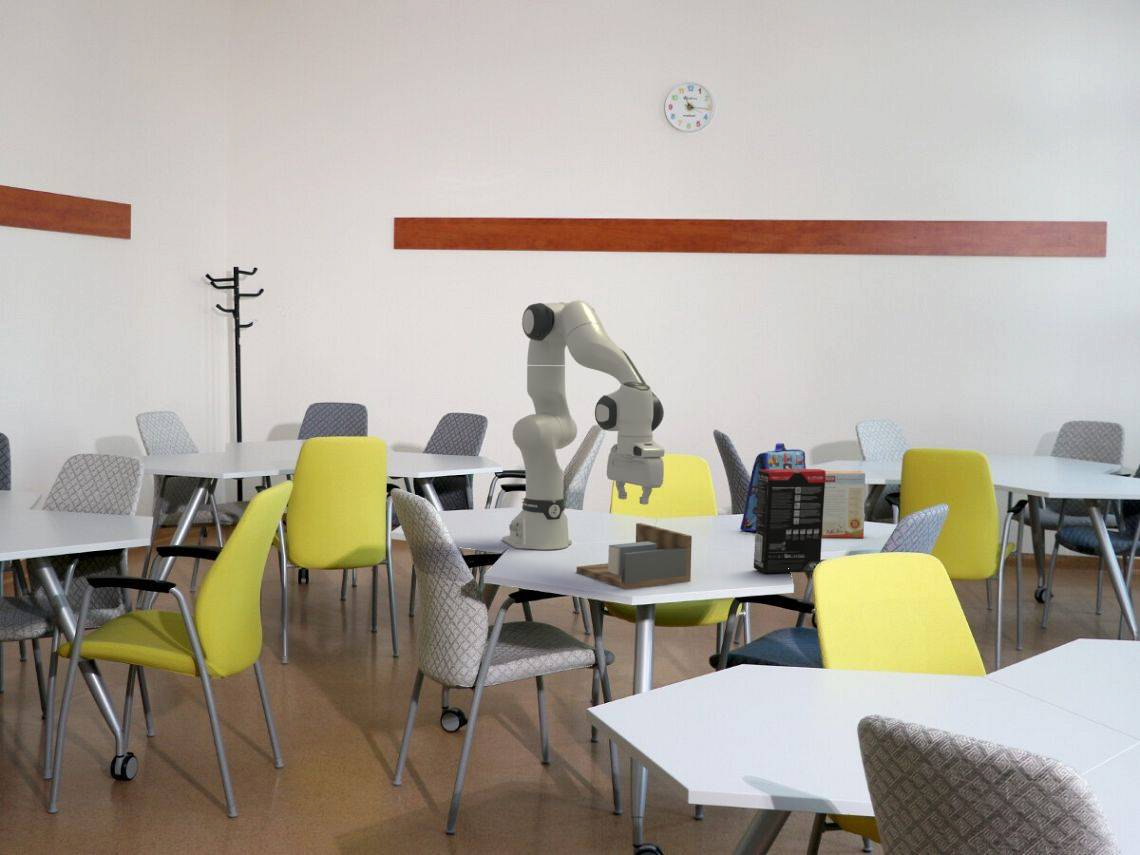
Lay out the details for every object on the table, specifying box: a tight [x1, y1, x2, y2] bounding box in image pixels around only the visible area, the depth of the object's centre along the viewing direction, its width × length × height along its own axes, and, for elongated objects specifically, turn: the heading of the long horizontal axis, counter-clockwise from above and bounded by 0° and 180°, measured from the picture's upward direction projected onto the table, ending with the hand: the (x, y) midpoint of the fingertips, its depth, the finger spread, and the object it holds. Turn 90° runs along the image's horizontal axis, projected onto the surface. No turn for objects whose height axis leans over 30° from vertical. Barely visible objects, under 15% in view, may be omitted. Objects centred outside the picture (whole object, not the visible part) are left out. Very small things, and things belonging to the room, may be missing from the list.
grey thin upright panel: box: [621, 547, 687, 583], centre depth 257 cm, size 2×18×7 cm, turn 121°
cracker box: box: [822, 470, 866, 539], centre depth 332 cm, size 14×6×21 cm, turn 92°
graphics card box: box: [753, 468, 826, 574], centre depth 276 cm, size 17×7×27 cm, turn 107°
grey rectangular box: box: [607, 541, 657, 576], centre depth 265 cm, size 4×12×7 cm, turn 122°
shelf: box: [576, 522, 693, 590], centre depth 266 cm, size 22×20×12 cm
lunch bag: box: [740, 442, 807, 533], centre depth 342 cm, size 22×14×29 cm, turn 131°
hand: (633, 501), depth 264 cm, fingers open, 8 cm apart
